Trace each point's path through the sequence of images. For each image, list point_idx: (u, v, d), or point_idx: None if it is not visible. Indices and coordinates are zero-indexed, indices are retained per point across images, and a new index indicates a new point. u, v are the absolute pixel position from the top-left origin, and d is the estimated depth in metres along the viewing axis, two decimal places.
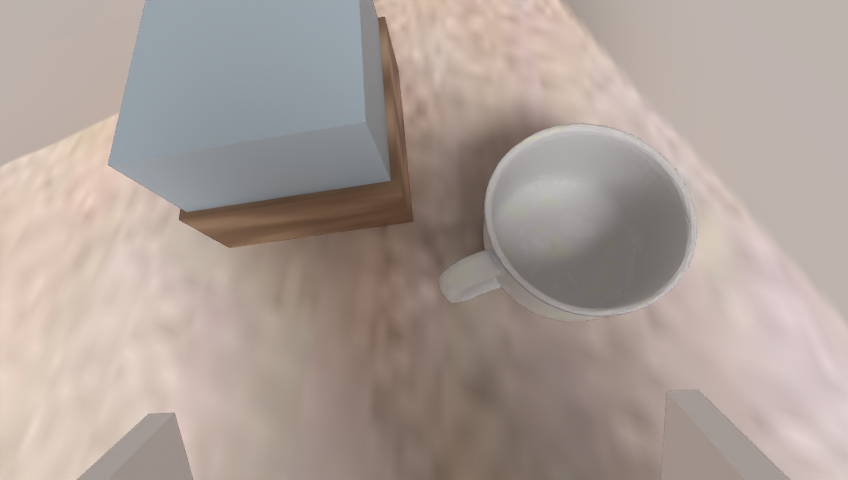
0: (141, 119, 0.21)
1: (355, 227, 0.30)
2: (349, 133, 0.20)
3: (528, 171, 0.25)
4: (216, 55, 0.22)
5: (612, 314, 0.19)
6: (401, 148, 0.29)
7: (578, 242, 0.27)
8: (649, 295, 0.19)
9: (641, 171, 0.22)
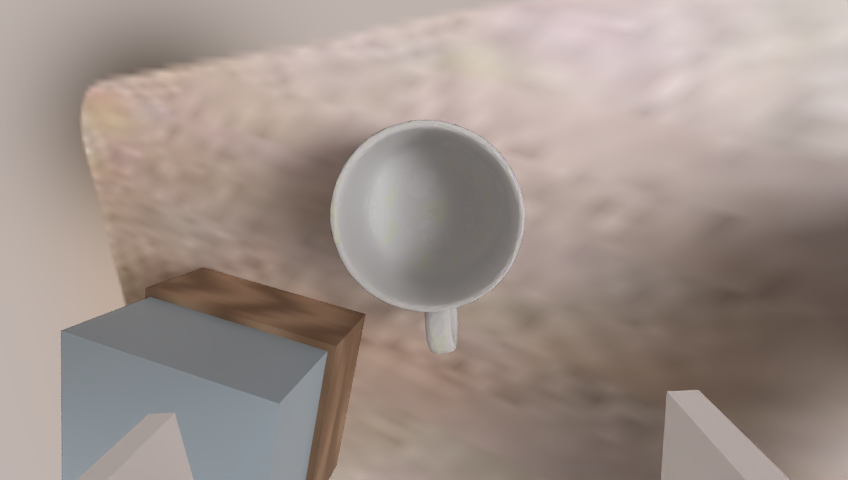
0: None
1: (354, 364, 0.32)
2: (284, 411, 0.22)
3: (359, 222, 0.26)
4: None
5: (520, 243, 0.21)
6: (293, 311, 0.30)
7: (438, 188, 0.28)
8: (516, 204, 0.21)
9: (399, 137, 0.22)
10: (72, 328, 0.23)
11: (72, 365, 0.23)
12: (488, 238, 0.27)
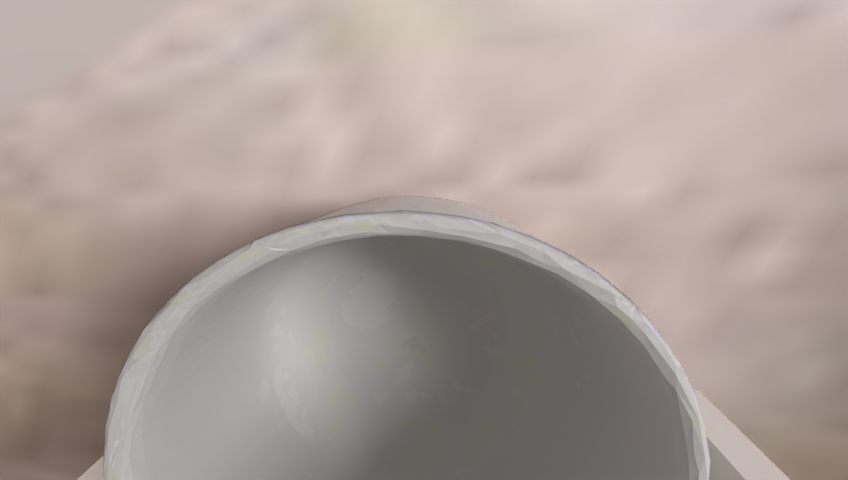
0: None
1: None
2: None
3: (257, 453, 0.11)
4: None
5: None
6: None
7: (406, 300, 0.13)
8: (666, 389, 0.06)
9: (257, 273, 0.08)
10: None
11: None
12: (540, 371, 0.13)
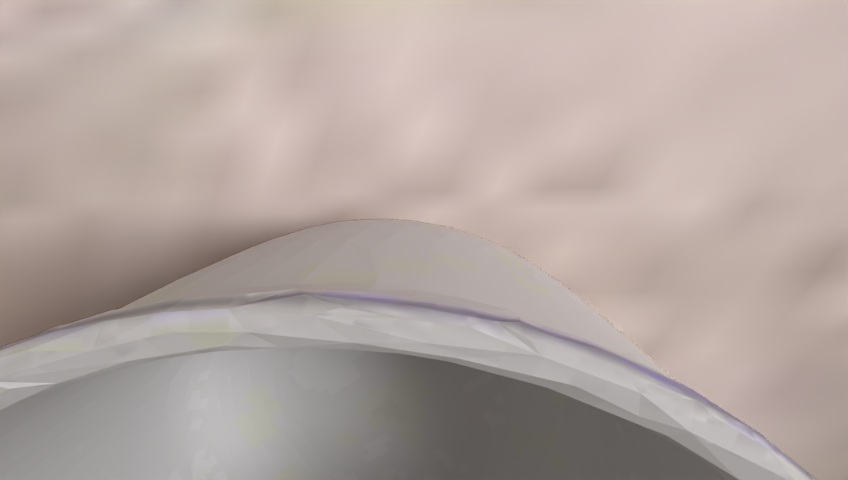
0: None
1: None
2: None
3: None
4: None
5: None
6: None
7: (378, 353, 0.10)
8: None
9: None
10: None
11: None
12: (560, 451, 0.09)
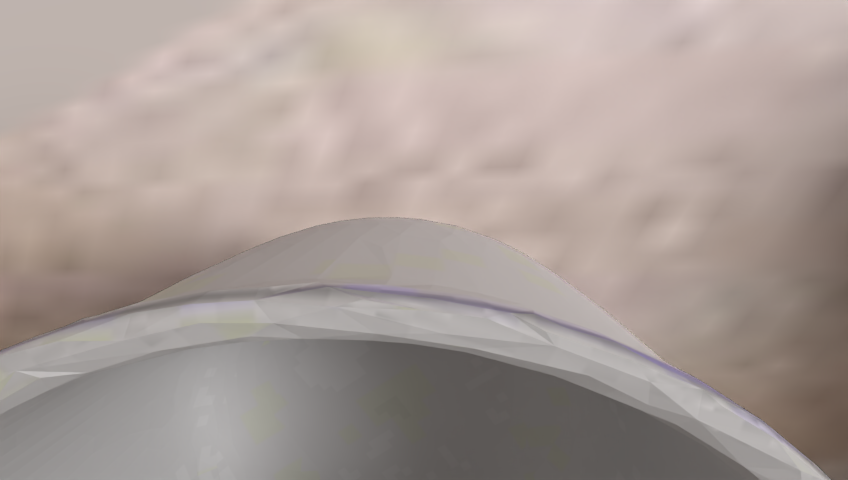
0: None
1: None
2: None
3: None
4: None
5: None
6: None
7: (383, 351, 0.10)
8: None
9: None
10: None
11: None
12: (562, 447, 0.10)
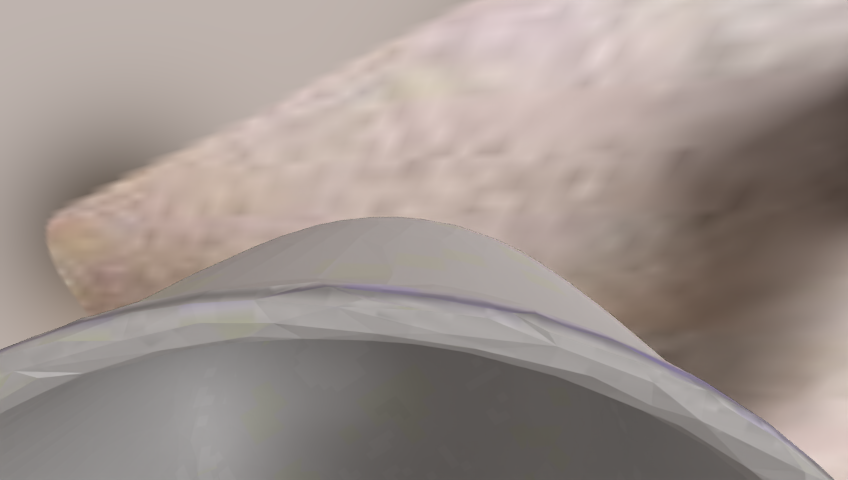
0: None
1: None
2: None
3: None
4: None
5: None
6: None
7: (383, 350, 0.10)
8: None
9: None
10: None
11: None
12: (562, 447, 0.10)
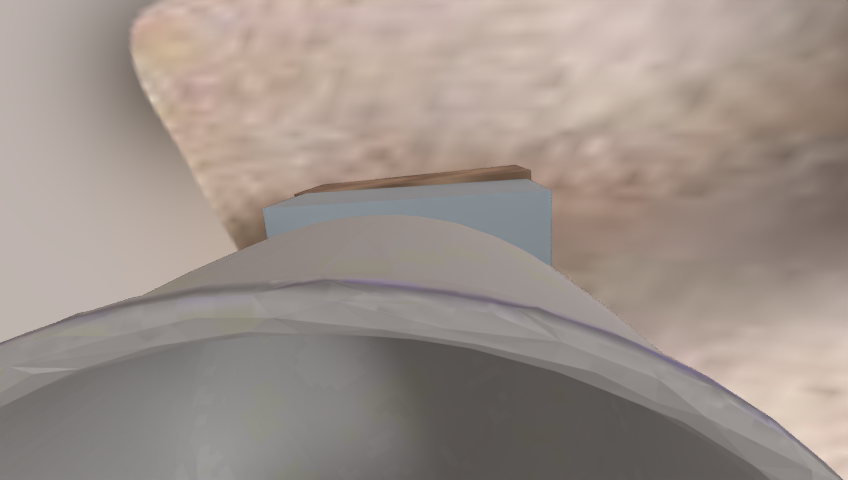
0: None
1: None
2: None
3: None
4: None
5: None
6: (451, 174, 0.27)
7: (383, 349, 0.10)
8: None
9: None
10: (270, 206, 0.20)
11: None
12: (563, 447, 0.10)
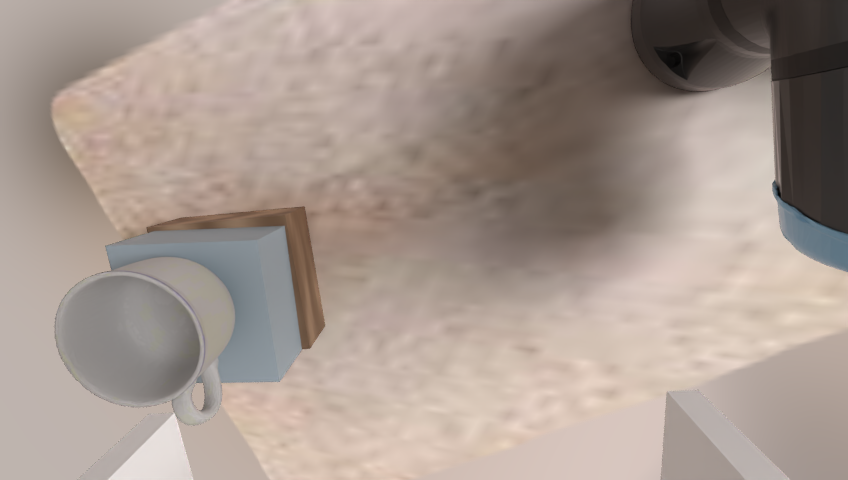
0: (250, 368, 0.37)
1: (310, 244, 0.46)
2: (262, 249, 0.35)
3: (114, 346, 0.32)
4: None
5: (201, 333, 0.28)
6: (253, 214, 0.43)
7: None
8: (185, 308, 0.28)
9: (95, 285, 0.29)
10: (111, 244, 0.35)
11: (119, 266, 0.35)
12: None
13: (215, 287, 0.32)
